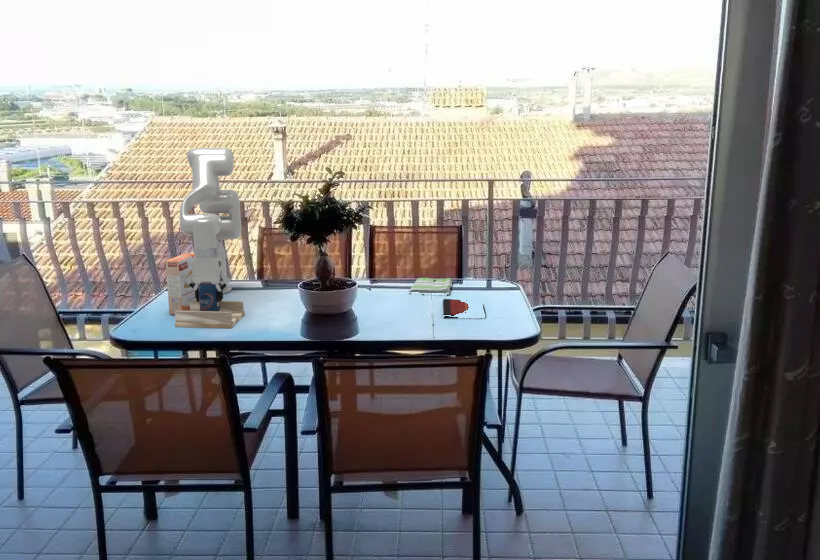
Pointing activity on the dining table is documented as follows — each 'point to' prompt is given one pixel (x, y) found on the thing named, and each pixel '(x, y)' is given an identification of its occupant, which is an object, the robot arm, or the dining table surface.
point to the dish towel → (431, 285)
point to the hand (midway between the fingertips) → (209, 300)
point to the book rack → (210, 315)
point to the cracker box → (179, 282)
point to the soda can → (208, 297)
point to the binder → (454, 307)
